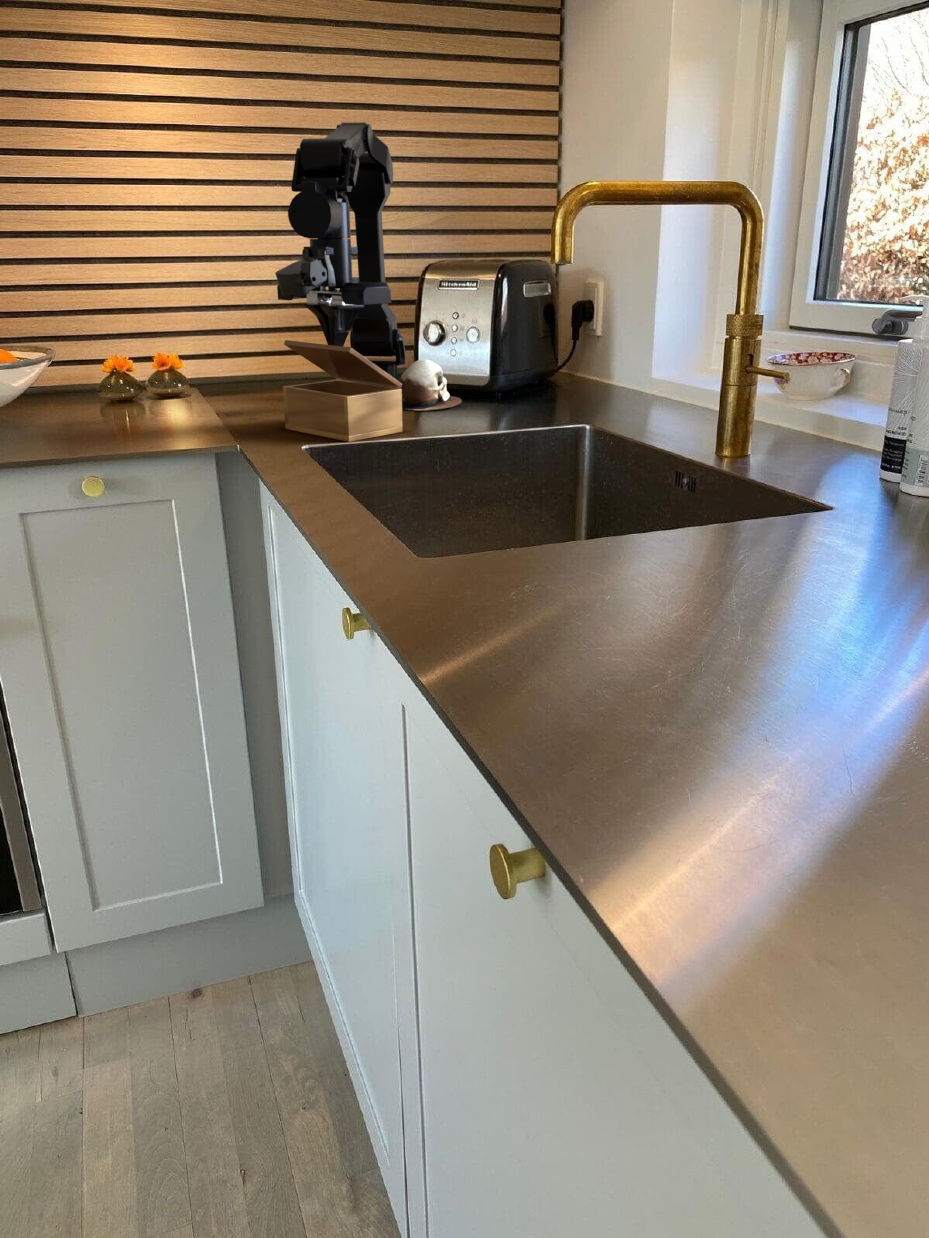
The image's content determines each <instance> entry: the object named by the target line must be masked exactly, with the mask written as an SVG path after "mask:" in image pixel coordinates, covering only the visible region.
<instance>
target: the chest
mask: <svg viewBox="0 0 929 1238" xmlns="http://www.w3.org/2000/svg"><path fill="white" fill-rule="evenodd" d="M282 394H283V395H282V396H283V410H284V424H285V429H286V430H289V431H295V432H299V433H303V434H309V435H314V436H319V437H323V438H329V439H334V440H338V441H342V442H347V443H351V442H355V441H361V440H365V439H371V438H377V437H381V436H382V437H383V436H388V435H391V434H392V435H393V434H397V433H403V432H404V431H403V409H402V389H401V388H392V387H385V386H378V385H371V384H364V383H359V382H355V381H348V380H341V379H330V380H323V381H315V382H307V383H301V384H300V383H299V384H293V385H285V386H284V385H283V386H282Z"/></svg>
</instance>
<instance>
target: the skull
mask: <svg viewBox="0 0 929 1238" xmlns="http://www.w3.org/2000/svg"><path fill="white" fill-rule="evenodd" d="M399 382H400V383H402V386H401V388H400V389H402V395H403V397H404V398H402V410H405V411H433V410H443V409H447V408H453V407H455V406H458V405H460V404H462V402H463V400H462V399H461V398H460V397H458V396H453V395H450V393H449V391H448V390H447V384H448V381H447V379H446V377H444V372H443V369H442V367H441V366H440V365H439V364H437V363H436V362H434V361H432V360H430V359H418V360H416V361H413V362H412V363H411V364H410V365H409V366H408V367H407V368H406V369H405V370H404V372H403V373H402V374H401V376H400V380H399Z"/></svg>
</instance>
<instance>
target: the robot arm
mask: <svg viewBox="0 0 929 1238" xmlns="http://www.w3.org/2000/svg"><path fill="white" fill-rule="evenodd" d="M393 183H394V165H393V160H392V157H391V152H390V150H389V146H388V145H387V144H386V143H384V142H383V141H382V140H381V139H380V138H378V137H377V136H376V135H375V134H374V131H373V128H372V125H371V124H370V123H367V122H362V121H361V122H359V121H358V122H356V121H355V122H341V123H340V124H337V125H336V128H335V130H333V131H332V132H331V133H330V134H328V135H327V136H325V137H324V138H323V137H322V138H318V137H317V138H303V139H302V140H301V141H300V143H299V147H298V148H296V152H295V158H294V164H293V172H292V179H291V192H295V193H297V194H295V196H294V197H293V198H292V199H291V201H290V202H289V206H288V209H287V217H288V218H287V219H288V222H289V224H290V226H291V228H292V229H293V231H294V232H295V233H296V234H297V235H299V236H300V237H302V238H306V239H309V246H303V249H302V252H301V254H302V256H301V257H302V259H299V260H296V261H294V262H291V263H290V264H288V265H286V266H284V267H282V268H281V269H279V270H276V271H275V272H274V274H275V277H276V280H277V282H278V284H277V286H276V290H277V300H278V301H293V300H299V299H306V303H302V306H303V307H304V309H308V310H309V311H310V312H311V313H312V314H313V315H314V316H315V317H316V319H317V321H318V323H319V325H320V328H321V330H322V333H323V336H324V338H325V341H326V345H333V346H342V347H345V344H346V340H347V339H348V336H349V343H350V347H351V348H352V349H354V350H355V351H357V352H358V353H359V354H361V355H362V356H364V357H365V358H366V359H368V360H369V361H371V362H372V363H373V364H375V365H376V366H378V367H379V368H381V369H382V370H383V371H385V372H386V373H388V374H389V375H390V376H392V377H393V378H395V379H396V380H398V381H399V377H398V376H399V375H398V373H399V372H398V366H402V365H406V364H407V363H406V362H407V357H406V347H405V341H404V338H403V336H402V333H401V330H400V329H399V328H398V321H397V317H396V315H395V313H394V312H393V310H392V309H391V307H390V306H389V304H392V289H391V287H390V285H389V284H388V283H387V282H386V271H385V250H384V231H383V230H384V228H383V210H384V207H385V205H386V203H387V201H388V199H389V197H390V195H391V185H392V184H393ZM350 209H351V210H352V212H353V213H354V223H355V224H354V226H355V227H354V228H355V240H356V241H355V242H356V243H355V244H356V246H352V239H351V237H352V235H351V210H350ZM352 255H356V258H357V271H358V272H357V275H358V277H353V264H352V262H353V260H352V258H353V257H352ZM394 357H395V358H394ZM358 383H362V382H358ZM364 384H369V383H364ZM371 385H376V384H371ZM378 386H383V385H378ZM385 387H389V386H385ZM392 388H396V387H392ZM402 398H404V397H403V395H402Z"/></svg>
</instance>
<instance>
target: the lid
mask: <svg viewBox="0 0 929 1238" xmlns="http://www.w3.org/2000/svg"><path fill="white" fill-rule="evenodd" d="M283 345H284V346H286V347H287V348H288V349H290V350H292V351H293V352H295V353H296V354H298V355H299V356H301V357H302V358H304V359H305V360H307V361H308V362H310V363H312V364H313V365H315V367H318V368H319V369H321V370H322V371H324V372H325V373H327V374H328V375H330V376H331V377H333V378H335V380H344V381H350V382H357V383H359V382H362V383H369V384H376V385H383V386H389V387H396V388H398V389H401V386H402V383H400V380H399V379H398V380H396V379H395V378H393V377H392V376H390V375H389V374H388V373H386V372H385V371H383V370H382V369H381V368H379V367H378V366H376V365H375V364H373V363H372V362H371V361H369V360H368V359H366V358H367V357H366V356H362V355H361V354H359V353H358V352H357V351H355V350H354V349H352V348H351V346H343V347H342V346H333V345H328V344H323V343H315V342H313V343H312V342H307V341H296V340H287V339H285V340H284V343H283Z"/></svg>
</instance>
